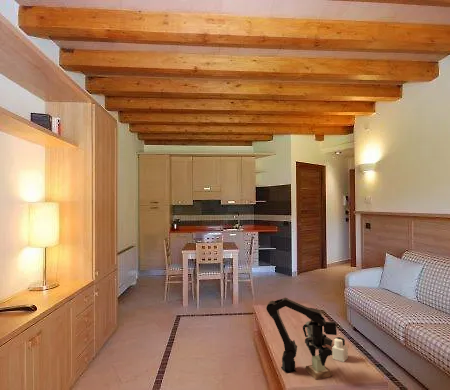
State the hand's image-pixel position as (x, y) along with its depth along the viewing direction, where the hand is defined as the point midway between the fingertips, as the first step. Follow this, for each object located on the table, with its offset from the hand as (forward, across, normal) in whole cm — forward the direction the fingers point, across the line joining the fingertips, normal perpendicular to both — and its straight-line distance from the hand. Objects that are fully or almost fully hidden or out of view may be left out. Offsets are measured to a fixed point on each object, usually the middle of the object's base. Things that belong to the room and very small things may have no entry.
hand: (318, 361), depth 176 cm
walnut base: (+6, 0, 0) cm, 6 cm away
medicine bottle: (+7, +11, -22) cm, 25 cm away
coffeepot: (+6, +31, -15) cm, 35 cm away
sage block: (+4, 0, 0) cm, 4 cm away
